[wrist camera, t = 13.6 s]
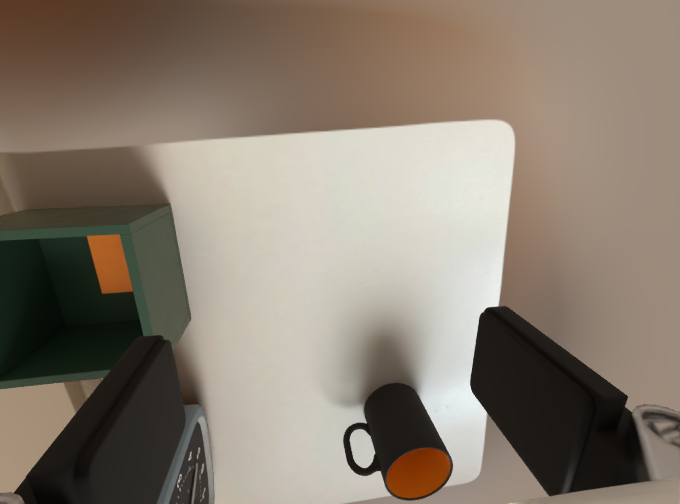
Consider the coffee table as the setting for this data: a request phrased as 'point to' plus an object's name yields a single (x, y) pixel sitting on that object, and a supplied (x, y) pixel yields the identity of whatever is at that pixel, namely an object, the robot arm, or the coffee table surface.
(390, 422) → the mug
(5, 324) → the bin
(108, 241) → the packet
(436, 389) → the coffee table surface
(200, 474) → the alarm clock
